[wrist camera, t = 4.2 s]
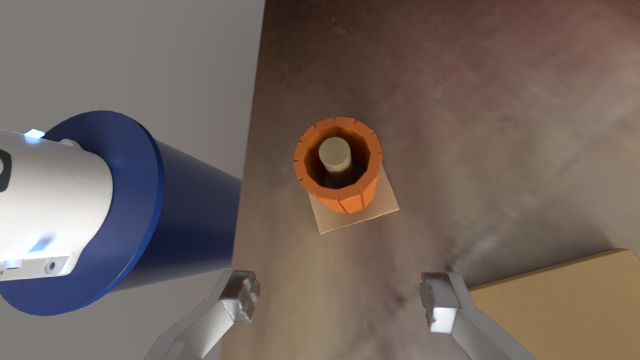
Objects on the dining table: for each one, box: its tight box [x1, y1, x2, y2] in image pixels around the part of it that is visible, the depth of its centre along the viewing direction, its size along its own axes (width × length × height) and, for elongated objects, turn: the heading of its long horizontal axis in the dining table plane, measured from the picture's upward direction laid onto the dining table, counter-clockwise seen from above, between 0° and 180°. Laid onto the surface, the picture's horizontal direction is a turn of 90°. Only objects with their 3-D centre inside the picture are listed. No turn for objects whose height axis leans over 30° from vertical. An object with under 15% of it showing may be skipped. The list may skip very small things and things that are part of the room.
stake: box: [308, 137, 400, 234], centre depth 20 cm, size 8×8×10 cm
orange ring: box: [293, 116, 383, 214], centre depth 20 cm, size 6×6×8 cm
